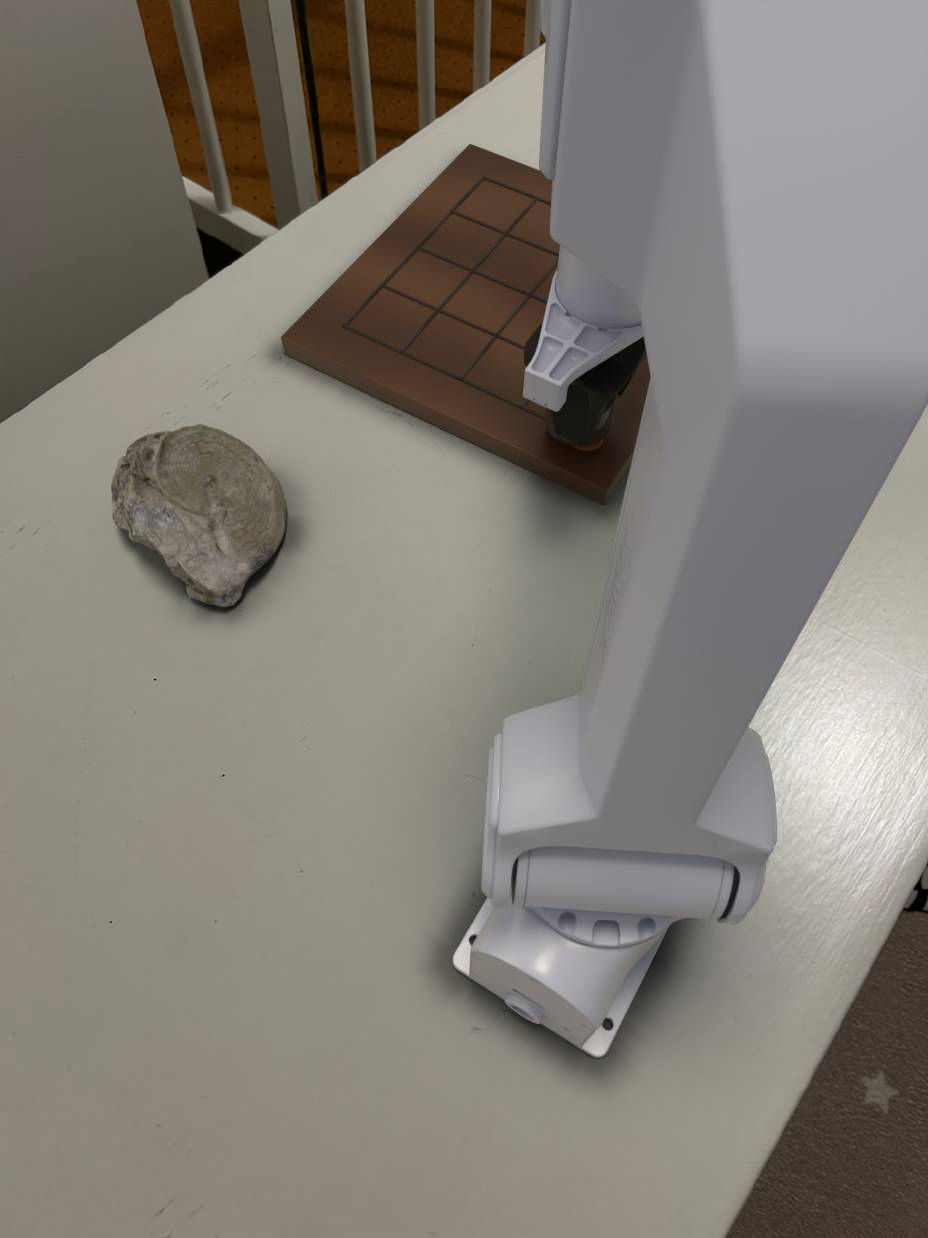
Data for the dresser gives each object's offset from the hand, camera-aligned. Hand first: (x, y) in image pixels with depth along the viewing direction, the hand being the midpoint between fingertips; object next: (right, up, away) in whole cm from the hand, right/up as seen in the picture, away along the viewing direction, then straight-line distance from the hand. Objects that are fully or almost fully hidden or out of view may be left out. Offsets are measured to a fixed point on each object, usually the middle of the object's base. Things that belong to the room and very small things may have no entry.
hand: (590, 410), depth 57 cm
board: (-3, +9, +9) cm, 13 cm away
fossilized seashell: (-23, -7, +1) cm, 24 cm away
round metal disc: (-1, 0, +1) cm, 2 cm away
